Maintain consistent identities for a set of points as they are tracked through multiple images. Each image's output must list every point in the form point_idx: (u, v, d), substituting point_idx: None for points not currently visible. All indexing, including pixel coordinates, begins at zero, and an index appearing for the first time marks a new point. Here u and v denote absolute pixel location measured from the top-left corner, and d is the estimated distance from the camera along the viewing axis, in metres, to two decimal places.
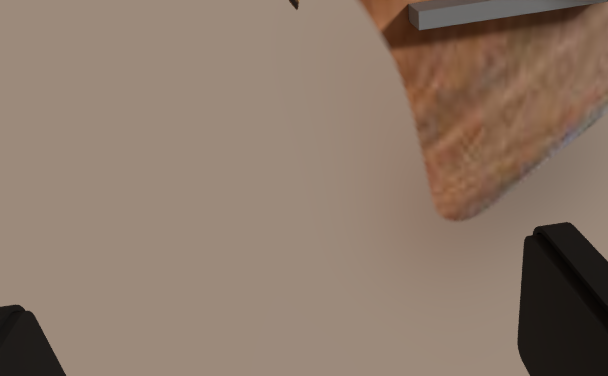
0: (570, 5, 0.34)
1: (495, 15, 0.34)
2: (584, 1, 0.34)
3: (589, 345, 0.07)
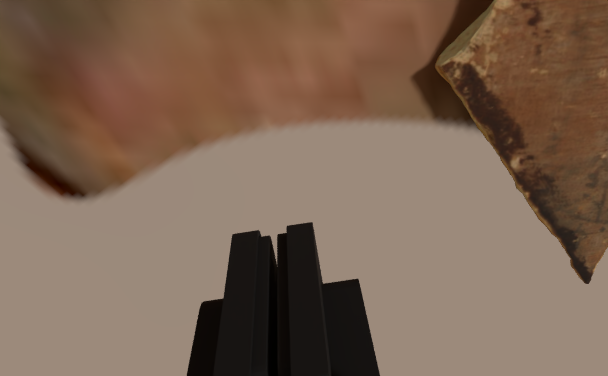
0: None
1: None
2: None
3: None
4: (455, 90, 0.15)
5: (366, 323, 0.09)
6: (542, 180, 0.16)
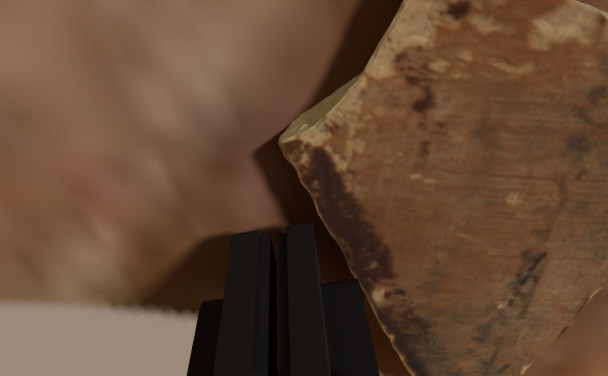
0: None
1: None
2: None
3: None
4: (301, 181, 0.10)
5: (366, 323, 0.09)
6: (414, 323, 0.11)
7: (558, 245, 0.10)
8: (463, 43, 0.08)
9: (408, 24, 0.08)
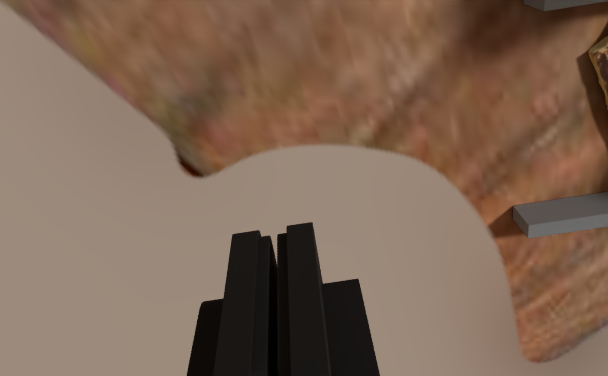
0: None
1: (593, 226, 0.40)
2: None
3: None
4: (595, 63, 0.36)
5: (366, 323, 0.09)
6: None
7: None
8: None
9: None
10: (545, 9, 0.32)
